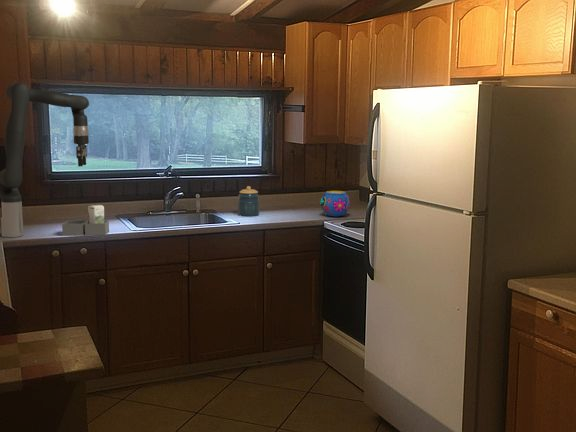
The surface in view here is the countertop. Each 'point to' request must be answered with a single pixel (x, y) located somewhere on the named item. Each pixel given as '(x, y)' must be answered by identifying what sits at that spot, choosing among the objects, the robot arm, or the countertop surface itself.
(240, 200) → the canister
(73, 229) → the bin
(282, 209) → the countertop surface
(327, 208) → the ceramic pot
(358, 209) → the countertop surface
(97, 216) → the syrup box
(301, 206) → the countertop surface
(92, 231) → the bin
